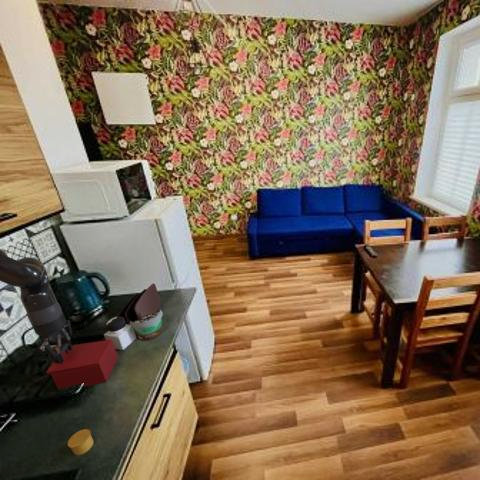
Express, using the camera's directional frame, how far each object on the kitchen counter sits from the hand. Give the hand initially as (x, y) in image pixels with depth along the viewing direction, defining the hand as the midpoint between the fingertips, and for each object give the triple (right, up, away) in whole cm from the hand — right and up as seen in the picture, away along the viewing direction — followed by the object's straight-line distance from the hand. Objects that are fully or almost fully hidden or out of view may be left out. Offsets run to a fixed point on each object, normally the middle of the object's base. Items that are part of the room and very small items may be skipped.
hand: (64, 355), depth 93 cm
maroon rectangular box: (+5, -9, +6) cm, 11 cm away
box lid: (+4, -1, +2) cm, 5 cm away
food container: (+16, -2, +24) cm, 29 cm away
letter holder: (+4, +3, +34) cm, 35 cm away
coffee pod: (+22, -19, -17) cm, 33 cm away
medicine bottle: (+6, -3, +20) cm, 21 cm away
